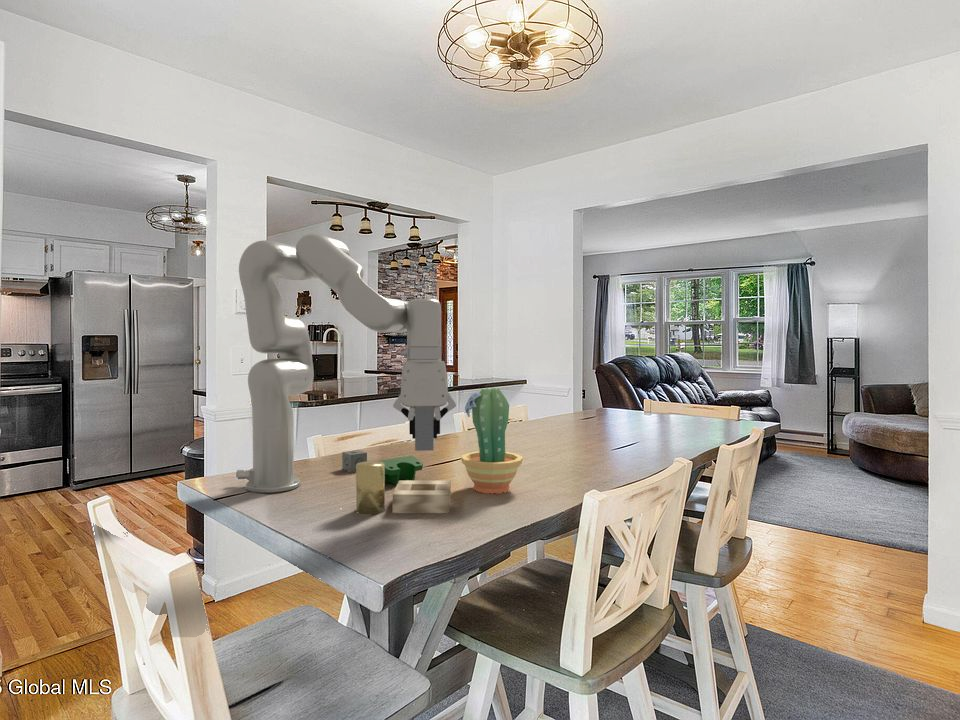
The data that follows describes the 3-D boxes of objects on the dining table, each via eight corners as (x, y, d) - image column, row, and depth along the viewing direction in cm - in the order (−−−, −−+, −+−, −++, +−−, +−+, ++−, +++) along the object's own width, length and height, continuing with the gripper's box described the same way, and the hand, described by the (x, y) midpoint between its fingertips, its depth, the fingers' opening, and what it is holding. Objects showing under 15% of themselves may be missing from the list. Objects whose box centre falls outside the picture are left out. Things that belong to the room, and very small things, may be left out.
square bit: (415, 450, 126) (414, 405, 125) (416, 447, 130) (416, 403, 129) (433, 450, 126) (433, 404, 125) (434, 447, 130) (434, 402, 129)
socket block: (392, 513, 122) (392, 494, 122) (399, 497, 134) (399, 480, 134) (449, 513, 123) (449, 494, 122) (450, 497, 135) (450, 480, 134)
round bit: (353, 514, 121) (353, 467, 121) (359, 505, 127) (359, 461, 127) (382, 514, 121) (382, 467, 121) (386, 505, 127) (386, 461, 127)
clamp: (390, 502, 146) (383, 474, 141) (378, 492, 150) (370, 464, 145) (428, 478, 152) (422, 450, 148) (415, 469, 156) (408, 442, 152)
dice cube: (342, 469, 162) (342, 451, 162) (358, 467, 165) (358, 449, 165) (350, 472, 158) (350, 454, 158) (366, 470, 162) (367, 452, 161)
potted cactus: (480, 478, 153) (481, 384, 152) (533, 486, 146) (534, 387, 145) (448, 491, 140) (449, 388, 139) (504, 500, 132) (506, 392, 131)
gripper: (384, 355, 123) (384, 440, 124) (462, 355, 124) (462, 440, 124) (388, 354, 131) (389, 435, 131) (462, 354, 131) (462, 434, 132)
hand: (424, 436), depth 128 cm, fingers closed on square bit, 4 cm apart
